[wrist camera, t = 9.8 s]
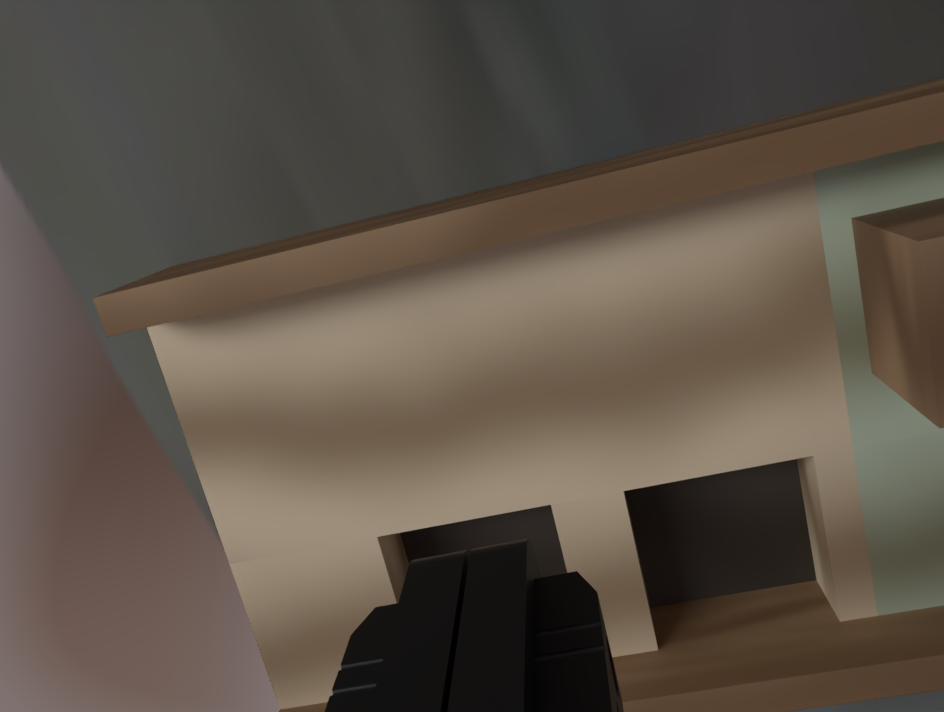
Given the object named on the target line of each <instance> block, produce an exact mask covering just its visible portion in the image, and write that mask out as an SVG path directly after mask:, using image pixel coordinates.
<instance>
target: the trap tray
mask: <svg viewBox="0 0 944 712" xmlns="http://www.w3.org/2000/svg"><path fill="white" fill-rule="evenodd" d="M940 198H944V78H940V79H936V80H931V81H927V82H923V83H919V84H915V85H911V86H907V87H903V88H899V89H895V90H891V91H887V92H882V93H878V94H874V95H870V96H866V97H862V98H858V99H854V100H850V101H846V102H842V103H838V104H833V105H829V106H825V107H821V108H817V109H813V110H809V111H805V112H801V113H797V114H793V115H789V116H785V117H780V118H776V119H772V120H768V121H764V122H760V123H756V124H752V125H748V126H744V127H740V128H736V129H731V130H727V131H723V132H719V133H715V134H711V135H707V136H703V137H699V138H695V139H691V140H687V141H682V142H678V143H674V144H670V145H666V146H662V147H658V148H654V149H650V150H646V151H642V152H638V153H633V154H629V155H625V156H621V157H617V158H613V159H609V160H605V161H601V162H597V163H593V164H589V165H585V166H580V167H576V168H572V169H568V170H564V171H560V172H556V173H552V174H548V175H544V176H540V177H536V178H531V179H527V180H523V181H519V182H515V183H511V184H507V185H503V186H499V187H495V188H491V189H487V190H482V191H478V192H474V193H470V194H466V195H462V196H458V197H454V198H450V199H446V200H442V201H438V202H434V203H429V204H425V205H421V206H417V207H413V208H409V209H405V210H401V211H397V212H393V213H389V214H385V215H380V216H376V217H372V218H368V219H364V220H360V221H356V222H352V223H348V224H344V225H340V226H336V227H331V228H327V229H323V230H319V231H315V232H311V233H307V234H303V235H299V236H295V237H291V238H287V239H283V240H278V241H274V242H270V243H266V244H262V245H258V246H254V247H250V248H246V249H242V250H238V251H234V252H229V253H225V254H221V255H217V256H213V257H209V258H205V259H201V260H197V261H193V262H189V263H185V264H180V265H176V266H172V267H169V268H167V269H164V270H162V271H159V272H157V273H154V274H152V275H149V276H147V277H144V278H142V279H139V280H137V281H134V282H132V283H129V284H127V285H124V286H122V287H119V288H117V289H114V290H112V291H109V292H107V293H104V294H102V295H99V296H97V297H94V298H93V300H94V303H95V306H96V309H97V312H98V314H99V317H100V320H101V323H102V325H103V328H104V331H105V334H106V336H107V337H108V336H113V335H117V334H121V333H126V332H130V331H134V330H138V329H143V328H147V329H148V332H149V335H150V338H151V341H152V344H153V347H154V349H155V352H156V355H157V358H158V361H159V364H160V367H161V369H162V372H163V375H164V378H165V381H166V384H167V387H168V389H169V392H170V395H171V398H172V401H173V404H174V407H175V410H176V412H177V415H178V418H179V421H180V424H181V427H182V430H183V432H184V435H185V438H186V441H187V444H188V447H189V450H190V452H191V455H192V458H193V461H194V464H195V467H196V470H197V473H198V475H199V478H200V481H201V484H202V487H203V490H204V493H205V495H206V498H207V501H208V504H209V507H210V510H211V513H212V515H213V518H214V521H215V524H216V527H217V530H218V533H219V535H220V538H221V541H222V544H223V547H224V550H225V553H226V556H227V558H228V561H229V564H230V567H231V569H232V573H233V576H234V578H235V581H236V584H237V587H238V590H239V593H240V596H241V598H242V601H243V604H244V607H245V610H246V613H247V616H248V619H249V621H250V624H251V627H252V630H253V633H254V636H255V639H256V641H257V644H258V647H259V650H260V653H261V656H262V659H263V661H264V664H265V667H266V670H267V673H268V676H269V679H270V682H271V684H272V687H273V690H274V693H275V696H276V698H277V701H278V704H279V707H280V711H279V712H324V711H325V709H326V706H327V703H328V700H329V697H330V696H332V695H333V691H332V688H333V685H334V682H335V679H336V677H337V674H338V671H339V670H341V662H342V659H343V656H344V653H345V650H346V647H347V645H348V642H349V639H350V636H351V634H352V633H353V632H354V631H355V630H356V629H357V627H358V626H359V625H360V624H361V623H362V622H363V621H364V620H365V618H366V617H367V616H368V615H369V614H370V613H371V612H372V611H373V609H374V608H375V607H379V606H385V605H391V604H396V603H399V599H400V595H401V592H402V588H403V584H404V581H405V577H406V573H407V570H408V566H409V563H410V562H411V561H412V560H416V559H421V558H427V557H432V556H437V555H443V554H448V553H454V552H459V551H465V550H469V551H471V549H474V548H480V547H485V546H491V545H496V544H502V543H507V542H512V541H518V540H523V539H529V540H530V542H531V544H532V547H533V550H534V553H535V557H536V561H537V565H538V569H539V573H540V577H547V576H553V575H558V574H564V573H570V572H575V571H577V572H578V573H579V574H580V575H581V576H582V577H583V578H584V579H585V580H586V581H587V582H588V583H589V584H590V585H591V586H592V587H593V588H594V589H595V590H596V591H597V593H598V597H599V602H600V606H601V610H602V615H603V619H604V623H605V628H606V632H607V636H608V641H609V645H610V649H611V654H612V658H613V662H614V667H615V671H616V676H617V680H618V684H619V689H620V693H621V697H622V703H623V710H624V712H788V711H795V710H802V709H809V708H816V707H823V706H830V705H837V704H844V703H851V702H858V701H865V700H872V699H879V698H886V697H893V696H900V695H907V694H914V693H921V692H928V691H935V690H942V689H944V428H938V427H937V426H936V425H935V424H933V423H932V422H931V421H930V420H929V419H927V418H926V417H925V416H924V415H922V414H921V413H920V412H919V411H918V410H916V409H915V408H914V407H913V406H911V405H910V404H909V403H908V402H907V401H905V400H904V399H903V398H902V397H900V396H899V395H898V394H897V393H896V392H894V391H893V390H892V389H891V388H889V387H888V386H887V385H886V384H885V383H883V382H882V381H881V380H880V379H878V378H877V377H876V376H875V375H874V374H872V370H871V363H870V355H869V348H868V340H867V333H866V325H865V318H864V310H863V303H862V295H861V288H860V280H859V273H858V265H857V258H856V250H855V243H854V235H853V228H852V220H851V218H854V217H858V216H863V215H867V214H872V213H876V212H881V211H885V210H890V209H894V208H899V207H903V206H908V205H913V204H917V203H922V202H926V201H931V200H935V199H940Z"/></svg>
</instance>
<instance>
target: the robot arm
mask: <svg viewBox="0 0 944 712" xmlns="http://www.w3.org/2000/svg"><path fill="white" fill-rule="evenodd" d="M332 691H333V695H332V696H330V697H329V700H328V703H327V706H326V709H325V711H324V712H624V710H623V703H622V697H621V693H620V689H619V684H618V680H617V676H616V671H615V667H614V662H613V658H612V654H611V649H610V645H609V641H608V636H607V632H606V628H605V623H604V619H603V615H602V610H601V606H600V602H599V597H598V593H597V591H596V590H595V589H594V588H593V587H592V586H591V585H590V584H589V583H588V582H587V581H586V580H585V579H584V578H583V577H582V576H581V575H580V574H579V573H578V572H577V571H575V572H570V573H564V574H558V575H553V576H547V577H540V573H539V569H538V565H537V561H536V557H535V553H534V550H533V547H532V544H531V542H530V540H529V539H523V540H518V541H512V542H507V543H502V544H496V545H491V546H485V547H480V548H474V549H471V551H469V550H465V551H459V552H454V553H448V554H443V555H437V556H432V557H427V558H421V559H416V560H412V561H411V562H410V563H409V566H408V570H407V573H406V577H405V581H404V584H403V588H402V592H401V595H400V599H399V603H396V604H391V605H385V606H379V607H375V608H374V609H373V611H372V612H371V613H370V614H369V615H368V616H367V617H366V618H365V620H364V621H363V622H362V623H361V624H360V625H359V626H358V627H357V629H356V630H355V631H354V632H353V633H352V634H351V636H350V639H349V642H348V645H347V647H346V650H345V653H344V656H343V659H342V662H341V670H339V671H338V674H337V677H336V679H335V682H334V685H333V688H332Z"/></svg>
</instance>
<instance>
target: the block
mask: <svg viewBox="0 0 944 712" xmlns="http://www.w3.org/2000/svg"><path fill="white" fill-rule="evenodd" d="M851 220H852V228H853V235H854V243H855V250H856V258H857V265H858V273H859V280H860V288H861V295H862V303H863V310H864V318H865V325H866V333H867V340H868V348H869V355H870V363H871V370H872V374H874V375H875V376H876V377H877V378H878V379H880V380H881V381H882V382H883V383H885V384H886V385H887V386H888V387H889V388H891V389H892V390H893V391H894V392H896V393H897V394H898V395H899V396H900V397H902V398H903V399H904V400H905V401H907V402H908V403H909V404H910V405H911V406H913V407H914V408H915V409H916V410H918V411H919V412H920V413H921V414H922V415H924V416H925V417H926V418H927V419H929V420H930V421H931V422H932V423H933V424H935V425H936V426H937V427H938V428H944V198H940V199H935V200H931V201H926V202H922V203H917V204H913V205H908V206H903V207H899V208H894V209H890V210H885V211H881V212H876V213H872V214H867V215H863V216H858V217H854V218H851Z"/></svg>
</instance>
